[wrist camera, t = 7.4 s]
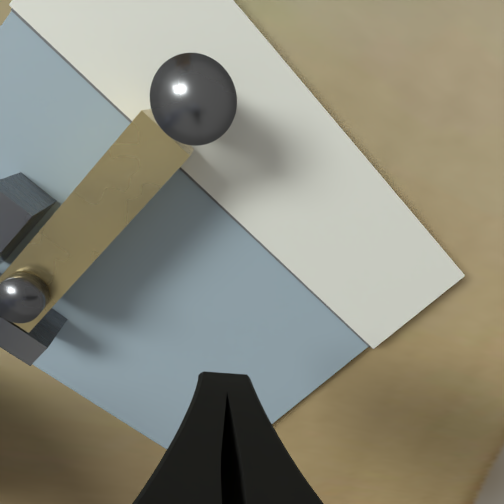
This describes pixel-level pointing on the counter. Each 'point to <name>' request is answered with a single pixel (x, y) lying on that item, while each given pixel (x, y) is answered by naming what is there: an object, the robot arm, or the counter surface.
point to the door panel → (207, 216)
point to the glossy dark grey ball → (193, 99)
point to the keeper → (5, 242)
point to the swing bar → (90, 219)
